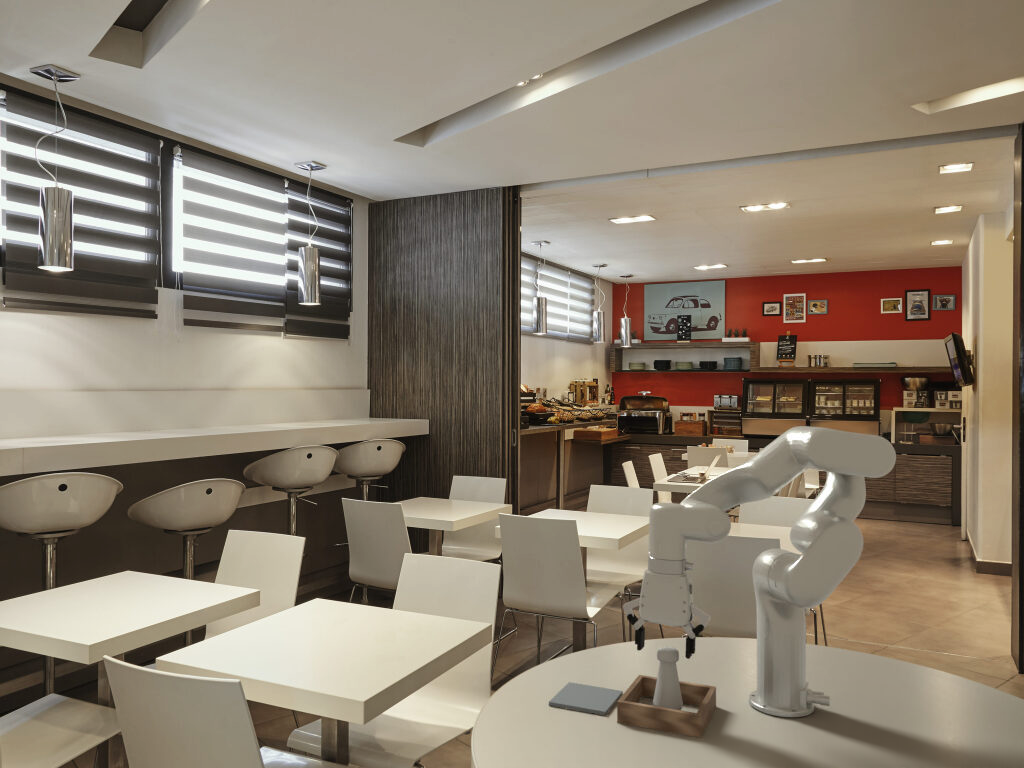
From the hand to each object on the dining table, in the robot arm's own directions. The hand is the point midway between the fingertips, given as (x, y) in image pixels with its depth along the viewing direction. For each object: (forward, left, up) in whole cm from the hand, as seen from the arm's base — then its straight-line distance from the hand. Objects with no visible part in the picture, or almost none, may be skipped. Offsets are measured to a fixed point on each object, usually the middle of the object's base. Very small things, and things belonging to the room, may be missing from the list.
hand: (664, 652), depth 155 cm
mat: (+16, 0, -12) cm, 20 cm away
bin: (-1, 0, -12) cm, 12 cm away
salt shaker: (-1, 0, -12) cm, 12 cm away
